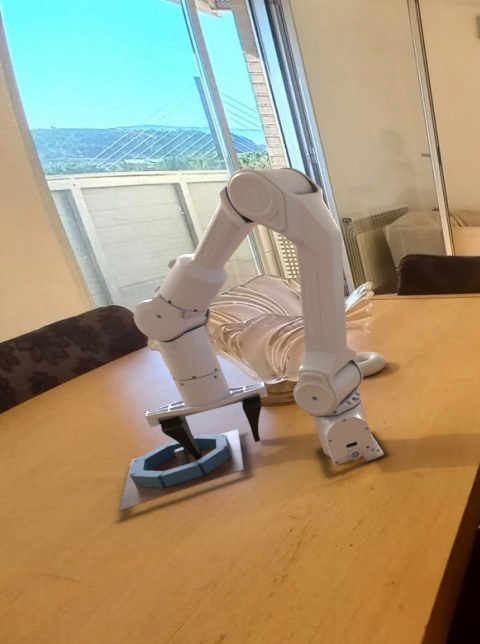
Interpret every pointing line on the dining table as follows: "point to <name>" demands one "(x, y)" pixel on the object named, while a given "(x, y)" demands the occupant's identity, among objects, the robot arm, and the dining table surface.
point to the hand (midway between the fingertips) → (228, 447)
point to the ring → (183, 473)
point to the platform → (145, 494)
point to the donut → (370, 362)
